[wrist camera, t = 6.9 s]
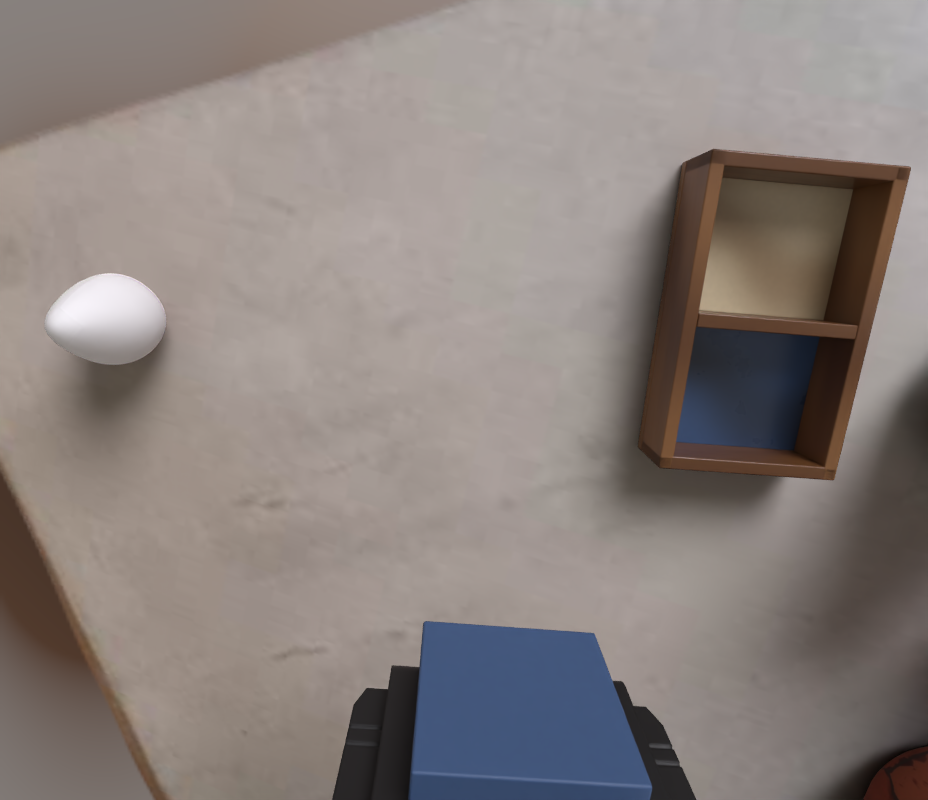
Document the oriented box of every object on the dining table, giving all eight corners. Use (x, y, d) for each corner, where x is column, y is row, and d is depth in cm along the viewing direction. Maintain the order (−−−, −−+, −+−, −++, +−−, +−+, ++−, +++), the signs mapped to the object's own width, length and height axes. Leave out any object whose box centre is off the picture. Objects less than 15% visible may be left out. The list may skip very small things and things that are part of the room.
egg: (148, 372, 26) (70, 399, 21) (80, 317, 26) (-17, 331, 20) (196, 313, 26) (129, 326, 21) (128, 256, 25) (41, 253, 20)
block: (424, 619, 13) (410, 772, 9) (594, 632, 13) (654, 787, 9) (411, 761, 14) (394, 955, 10) (571, 771, 14) (616, 966, 10)
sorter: (682, 162, 25) (712, 148, 22) (858, 178, 25) (912, 166, 22) (637, 447, 28) (658, 468, 25) (795, 458, 28) (834, 480, 25)
